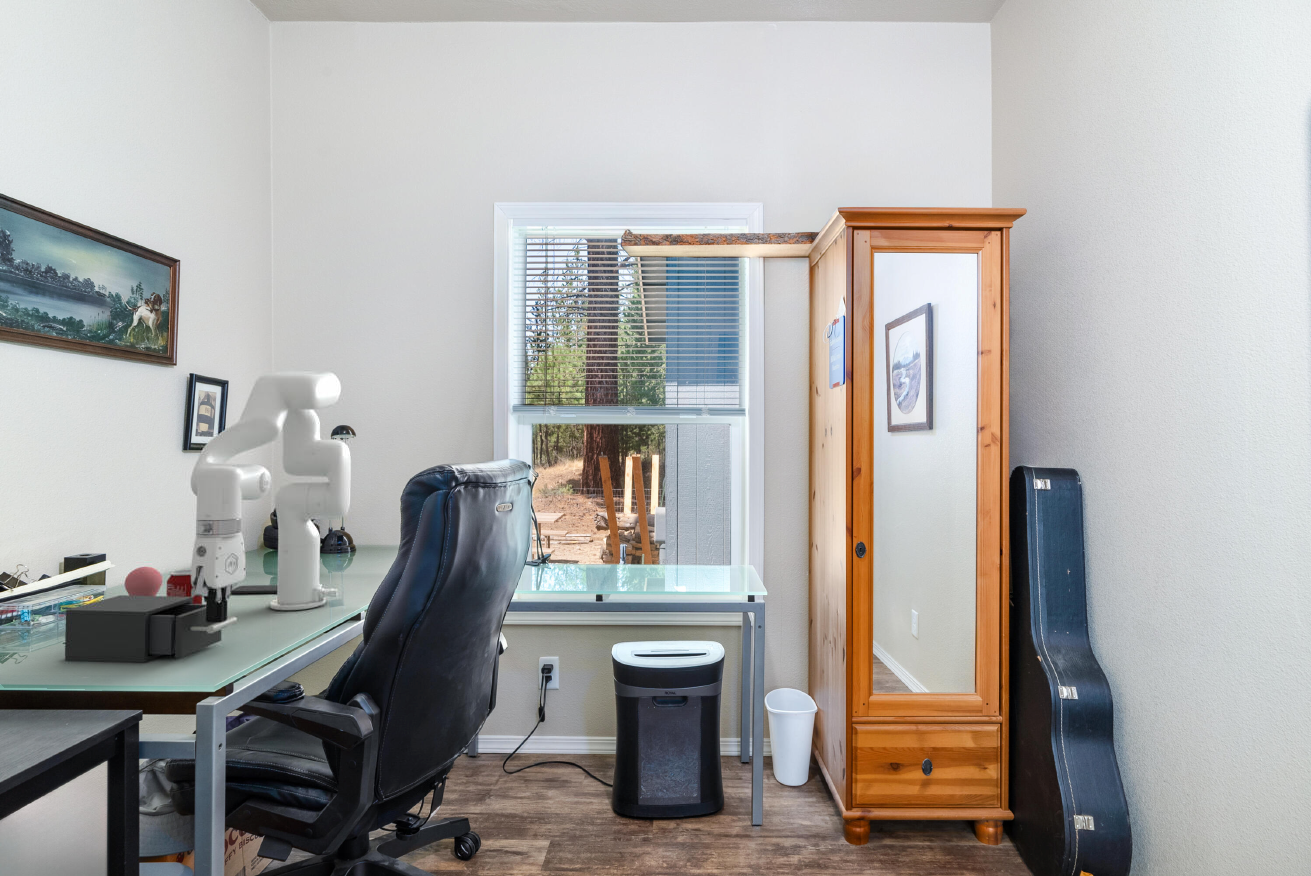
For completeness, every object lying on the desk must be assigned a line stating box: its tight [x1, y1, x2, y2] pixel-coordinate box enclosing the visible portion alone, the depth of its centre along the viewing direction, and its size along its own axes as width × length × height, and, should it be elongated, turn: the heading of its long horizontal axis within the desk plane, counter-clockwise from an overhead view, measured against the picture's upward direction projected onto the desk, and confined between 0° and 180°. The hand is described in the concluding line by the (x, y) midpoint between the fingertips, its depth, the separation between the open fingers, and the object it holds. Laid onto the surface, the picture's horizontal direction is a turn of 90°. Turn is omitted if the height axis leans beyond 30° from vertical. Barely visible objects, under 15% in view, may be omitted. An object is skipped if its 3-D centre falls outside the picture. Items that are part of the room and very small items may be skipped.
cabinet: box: [64, 594, 193, 664], centre depth 136 cm, size 16×13×10 cm
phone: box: [230, 584, 278, 594], centre depth 191 cm, size 7×1×15 cm
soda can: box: [165, 569, 203, 604], centre depth 156 cm, size 7×7×12 cm
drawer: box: [148, 603, 238, 659], centre depth 136 cm, size 19×11×8 cm, turn 88°
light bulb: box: [124, 566, 163, 596], centre depth 161 cm, size 7×7×12 cm
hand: (216, 621), depth 135 cm, fingers closed
